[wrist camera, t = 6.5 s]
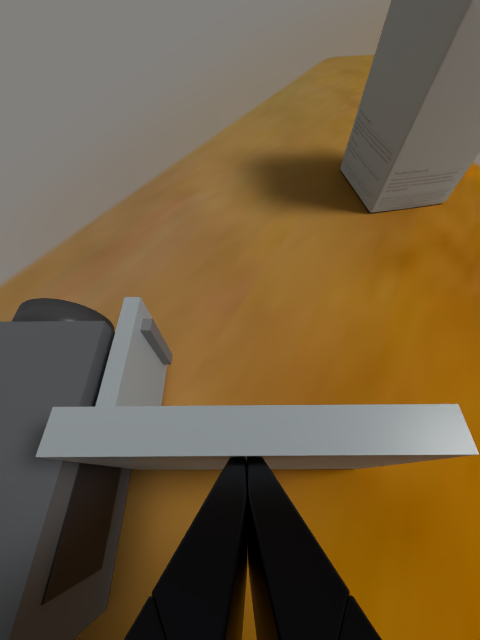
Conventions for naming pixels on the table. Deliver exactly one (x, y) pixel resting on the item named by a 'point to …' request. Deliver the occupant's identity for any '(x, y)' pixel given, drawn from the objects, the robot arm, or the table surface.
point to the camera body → (53, 476)
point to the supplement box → (418, 106)
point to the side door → (234, 422)
